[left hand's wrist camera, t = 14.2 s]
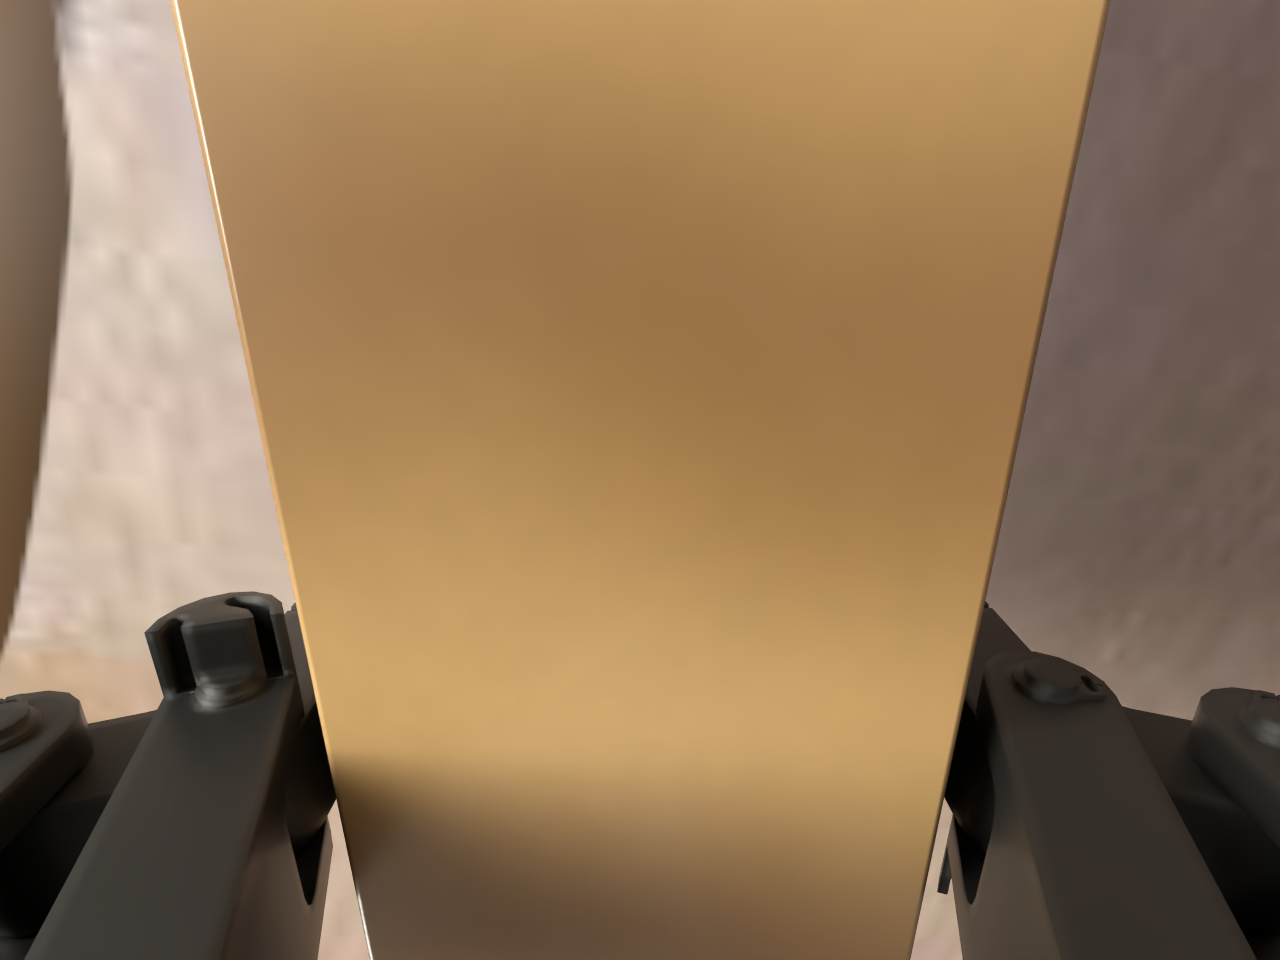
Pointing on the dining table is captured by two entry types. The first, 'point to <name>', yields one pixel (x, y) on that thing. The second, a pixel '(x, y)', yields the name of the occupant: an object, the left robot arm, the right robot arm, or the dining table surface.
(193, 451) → the dining table surface
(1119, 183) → the dining table surface
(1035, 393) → the dining table surface
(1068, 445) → the dining table surface
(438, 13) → the bar
